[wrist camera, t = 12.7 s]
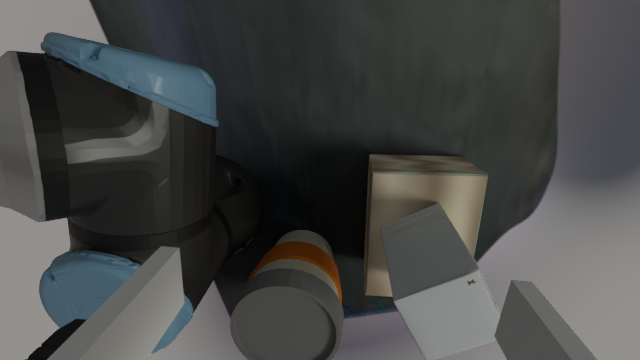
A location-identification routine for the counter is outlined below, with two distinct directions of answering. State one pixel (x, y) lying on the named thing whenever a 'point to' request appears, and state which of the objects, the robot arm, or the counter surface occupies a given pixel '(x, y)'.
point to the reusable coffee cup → (291, 302)
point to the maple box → (418, 202)
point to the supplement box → (438, 284)
